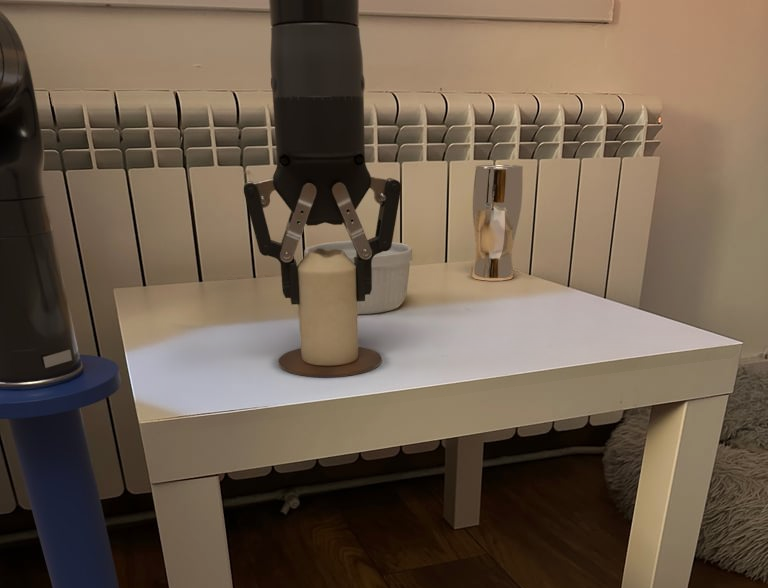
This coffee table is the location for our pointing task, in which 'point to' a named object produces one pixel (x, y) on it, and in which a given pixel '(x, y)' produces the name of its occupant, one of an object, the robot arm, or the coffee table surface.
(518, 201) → the beer glass
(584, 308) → the coffee table surface
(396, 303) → the ramekin
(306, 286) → the candle
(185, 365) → the coffee table surface
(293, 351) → the coaster
